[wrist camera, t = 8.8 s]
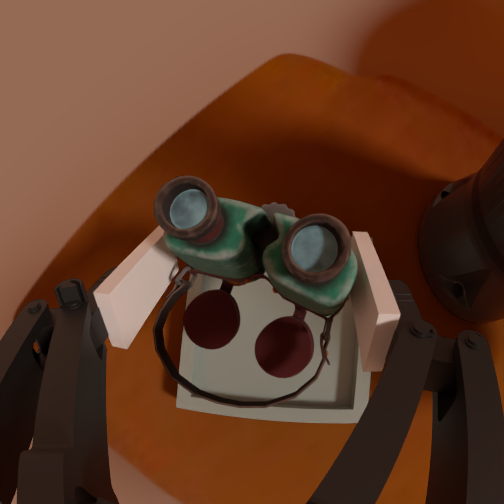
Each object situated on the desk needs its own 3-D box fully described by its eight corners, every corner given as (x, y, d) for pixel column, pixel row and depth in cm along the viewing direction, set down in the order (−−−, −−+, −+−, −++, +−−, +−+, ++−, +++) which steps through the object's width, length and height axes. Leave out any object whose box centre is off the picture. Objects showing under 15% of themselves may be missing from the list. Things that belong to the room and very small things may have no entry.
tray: (366, 246, 29) (372, 237, 26) (359, 417, 24) (365, 422, 22) (203, 240, 31) (196, 231, 29) (185, 403, 26) (176, 407, 24)
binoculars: (62, 381, 9) (159, 130, 11) (172, 359, 19) (225, 219, 21) (296, 500, 7) (408, 195, 9) (301, 412, 17) (357, 261, 19)
